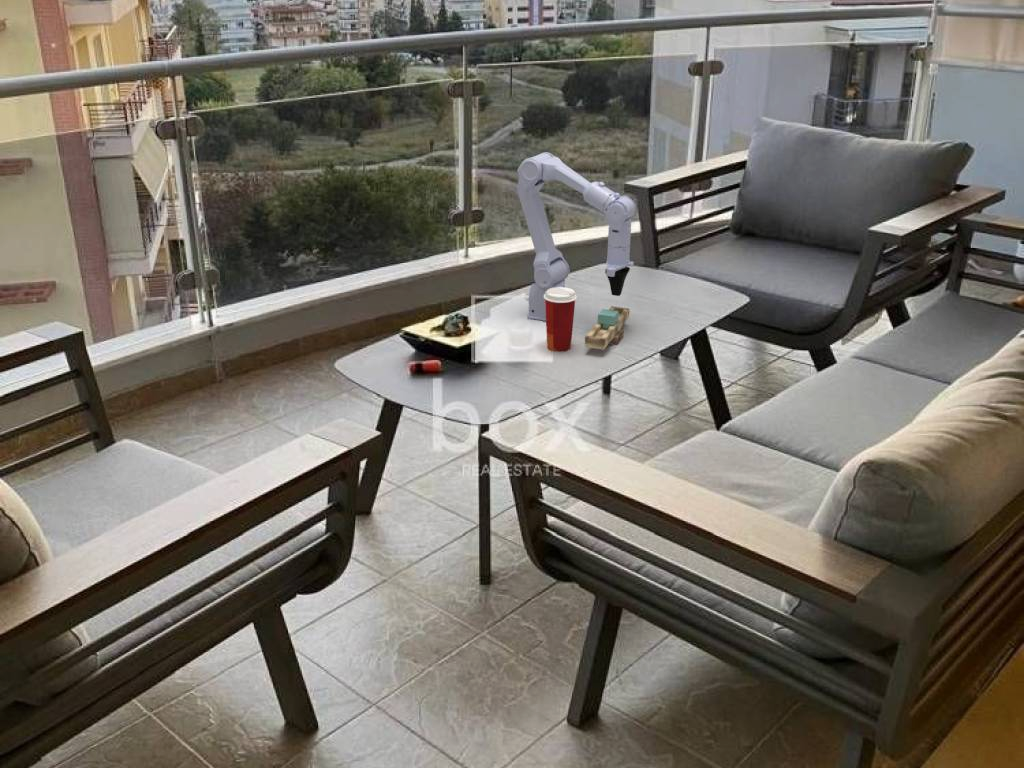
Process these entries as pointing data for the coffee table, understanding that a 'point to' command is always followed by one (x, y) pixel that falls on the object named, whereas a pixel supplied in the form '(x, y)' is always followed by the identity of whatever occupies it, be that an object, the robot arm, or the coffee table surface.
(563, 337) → the coffee cup
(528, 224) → the robot arm
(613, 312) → the teal cube
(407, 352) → the coffee table surface
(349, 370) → the coffee table surface
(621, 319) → the tan wooden slatted block
